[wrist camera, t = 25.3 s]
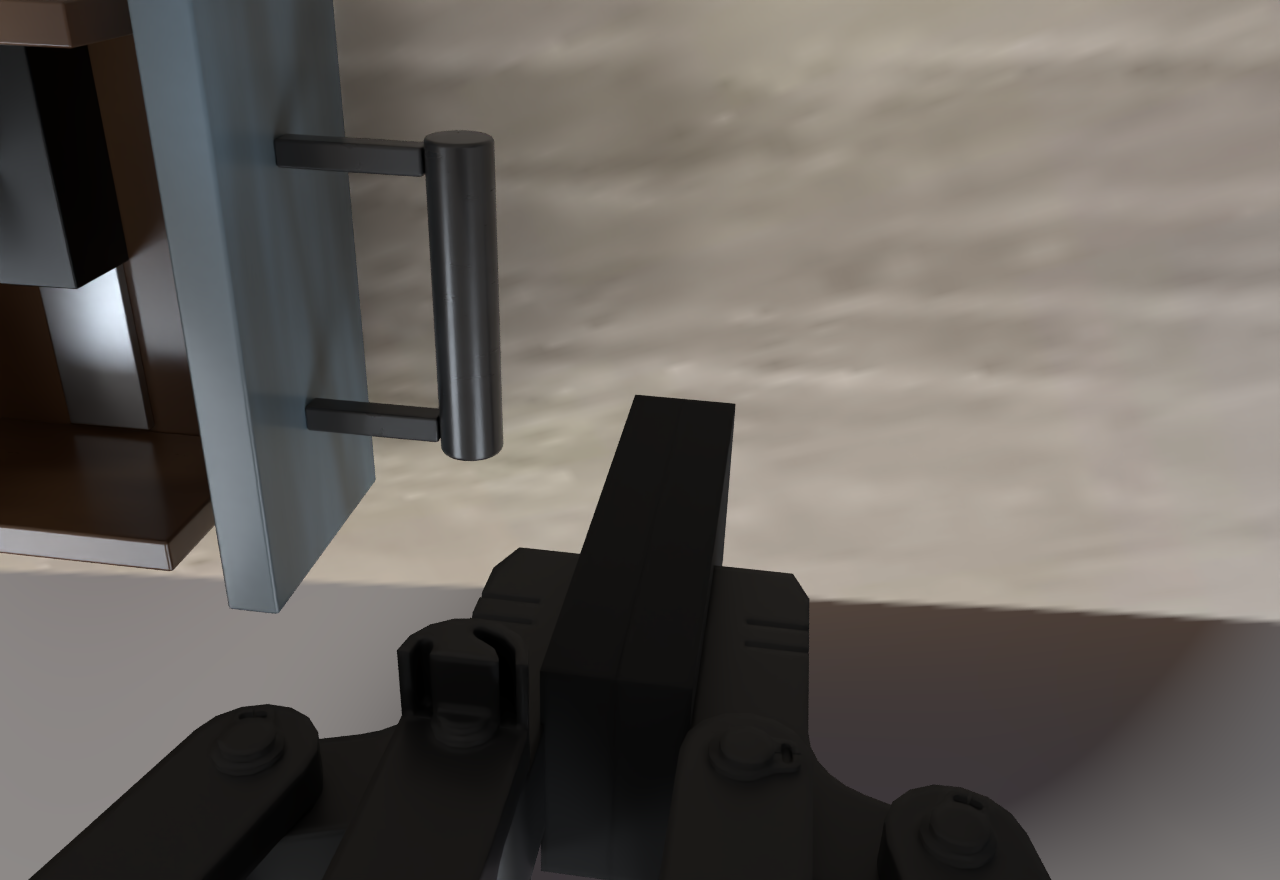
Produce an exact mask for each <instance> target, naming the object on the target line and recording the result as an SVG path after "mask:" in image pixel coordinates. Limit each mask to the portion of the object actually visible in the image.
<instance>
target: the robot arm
mask: <svg viewBox="0 0 1280 880" xmlns="http://www.w3.org/2000/svg"><path fill="white" fill-rule="evenodd" d="M734 416H735V404H732V403H721V402H710V401H699V400H688V399H677V398H666V397H655V396H644V395H635V397H634V400H633V403H632V406H631V409H630V412H629V415H628V418H627V420H626V423H625V426H624V429H623V432H622V435H621V438H620V441H619V444H618V446H617V449H616V452H615V455H614V458H613V461H612V464H611V467H610V469H609V472H608V475H607V478H606V481H605V484H604V487H603V490H602V493H601V495H600V498H599V501H598V504H597V507H596V510H595V513H594V516H593V519H592V521H591V524H590V527H589V530H588V533H587V536H586V539H585V542H584V545H583V547H582V550H581V553H580V554H576V553H567V552H558V551H548V550H539V549H530V548H520V547H519V548H518V549H517V550H515V551H514V552H513V553H512V554H510V555H509V556H508V557H507V558H505V559H504V560H503V561H501V562H500V563H499V564H498V565H496V566H495V567H494V568H493V570H492V572H491V574H490V576H489V579H488V581H487V583H486V585H485V587H484V589H483V592H482V597H480V598H479V600H478V602H477V604H476V607H475V609H474V611H473V615H472V618H470V619H451V620H447V621H443V622H439V623H435V624H430V625H429V626H427V627H425V628H423V629H421V630H419V631H417V632H416V633H414V634H412V635H410V636H409V637H408V638H407V640H406V641H405V642H404V643H403V644H402V645H401V647H400V648H399V649H398V650H397V657H398V670H399V681H400V694H401V707H402V716H401V719H400V721H399V723H398V724H397V725H394V726H392V727H389V728H386V729H383V730H380V731H375V732H370V733H365V734H359V735H350V736H341V737H334V738H324V739H319V737H318V731H317V730H316V728H315V727H314V725H313V723H312V722H311V720H310V718H308V717H307V716H305V715H304V714H302V713H300V712H298V711H296V710H294V709H293V708H290V707H283V706H277V705H270V704H265V705H256V706H246V707H240V708H237V709H235V710H232V711H229V712H226V713H224V714H220V715H218V716H215V717H214V718H213V719H211V720H209V721H208V722H207V723H205V724H203V725H202V726H200V727H199V728H198V729H196V730H195V731H193V732H192V734H190V735H189V736H188V737H187V738H186V739H185V740H183V741H182V742H181V743H180V744H179V745H178V746H177V747H176V748H175V749H173V750H172V751H171V752H170V753H169V754H168V755H167V756H166V757H165V758H163V759H162V760H161V761H160V762H159V763H158V764H157V765H156V766H155V767H153V768H152V769H151V770H150V771H149V772H148V773H147V774H146V775H144V776H143V777H142V778H141V779H140V780H139V781H138V782H137V783H136V784H134V785H133V786H132V787H131V788H130V789H129V790H128V791H127V792H126V793H124V794H123V795H122V796H121V797H120V798H119V799H118V800H117V801H116V802H114V803H113V804H112V805H111V806H110V807H109V808H108V809H107V810H105V811H104V812H103V813H102V814H101V815H100V816H99V817H98V818H97V819H95V820H94V821H93V822H92V823H91V824H90V825H89V826H88V827H87V828H85V830H83V831H82V832H81V833H80V834H79V835H78V836H77V837H75V838H74V839H73V840H72V841H71V842H70V843H69V844H68V845H67V846H65V847H64V848H63V849H62V850H61V851H60V852H59V853H58V854H57V855H55V856H54V857H53V858H52V859H51V860H50V861H49V862H48V863H47V864H45V865H44V866H43V867H42V868H41V869H40V870H39V871H38V872H36V873H35V874H34V875H33V876H32V877H31V878H30V879H29V880H531V876H532V872H533V869H534V865H535V861H536V858H537V854H538V851H539V847H540V844H541V871H546V872H553V873H560V874H568V875H576V876H582V877H590V878H597V879H604V880H1051V878H1050V877H1049V874H1048V873H1047V871H1046V869H1045V867H1044V865H1043V863H1042V862H1041V859H1040V858H1039V855H1038V854H1037V852H1036V850H1035V848H1034V846H1033V844H1032V842H1031V841H1030V838H1029V836H1028V835H1027V833H1026V832H1025V831H1024V829H1023V828H1022V827H1021V825H1020V824H1019V823H1018V822H1017V820H1016V819H1015V818H1014V816H1013V815H1012V814H1011V813H1010V812H1008V811H1007V810H1005V809H1004V808H1003V807H1001V806H1000V805H998V804H997V803H995V802H994V801H993V800H991V799H989V798H988V797H986V796H983V795H980V794H978V793H975V792H972V791H970V790H967V789H964V788H961V787H953V786H942V785H930V786H925V787H920V788H915V789H911V790H909V791H907V792H906V793H905V794H903V795H902V796H900V797H899V798H897V799H896V800H895V801H893V802H892V804H891V805H890V804H887V803H885V802H882V801H879V800H877V799H874V798H872V797H869V796H866V795H864V794H862V793H860V792H858V791H856V790H854V789H852V788H849V787H847V786H845V785H844V784H843V783H841V782H840V781H839V780H837V779H836V778H834V777H833V776H832V775H830V774H829V773H828V772H827V770H826V769H825V768H824V767H823V766H822V765H821V764H820V763H819V762H818V761H817V758H816V756H815V754H814V752H813V751H812V749H811V747H810V741H809V735H808V694H809V693H808V692H809V688H808V687H809V653H808V652H809V598H808V596H807V595H806V593H805V592H804V590H803V589H802V587H801V586H800V584H799V582H798V581H797V579H796V578H795V576H794V575H793V574H790V573H781V572H771V571H762V570H753V569H743V568H734V567H724V566H722V562H723V551H724V539H725V527H726V514H727V502H728V490H729V478H730V465H731V453H732V441H733V429H734Z"/></svg>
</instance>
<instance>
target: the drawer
mask: <svg viewBox="0 0 1280 880" xmlns="http://www.w3.org/2000/svg"><path fill="white" fill-rule="evenodd" d="M0 45H16V46H35V47H53V48H75V47H79V46H84V45H88V50H89V56H90V61H91V66H92V71H93V76H94V81H95V86H96V92H97V97H98V102H99V107H100V112H101V117H102V123H103V128H104V133H105V138H106V143H107V148H108V154H109V159H110V164H111V169H112V174H113V179H114V185H115V190H116V195H117V200H118V205H119V210H120V216H121V221H122V226H123V231H124V236H125V241H126V246H127V252H128V257H129V260H128V261H127V262H125V263H123V268H124V273H125V278H126V283H127V288H128V294H129V299H130V304H131V309H132V314H133V319H134V324H135V329H136V334H137V339H138V344H139V349H140V355H141V360H142V365H143V370H144V375H145V380H146V385H147V390H148V395H149V400H150V405H151V410H152V415H153V421H154V426H153V427H151V428H150V429H149V430H147V429H135V428H123V427H111V426H100V425H88V424H76V423H71V421H70V417H69V413H68V408H67V404H66V400H65V396H64V391H63V387H62V383H61V378H60V374H59V370H58V366H57V361H56V357H55V353H54V349H53V344H52V340H51V336H50V331H49V327H48V323H47V319H46V314H45V310H44V306H43V302H42V297H41V293H40V289H39V287H38V286H23V285H9V284H0V553H8V554H17V555H26V556H35V557H45V558H54V559H63V560H72V561H82V562H91V563H100V564H109V565H118V566H128V567H137V568H146V569H155V570H164V571H172V570H174V569H175V567H176V566H177V565H178V564H179V563H180V562H181V561H182V560H183V559H184V558H185V557H186V556H187V554H188V553H189V552H190V551H191V550H192V549H193V548H194V547H195V546H196V545H197V544H198V543H199V542H200V540H201V539H202V538H203V537H204V536H205V535H206V534H207V533H208V532H209V531H210V530H211V529H212V528H213V526H214V525H215V527H216V533H217V539H218V545H219V551H220V557H221V563H222V569H223V575H224V581H225V587H226V592H227V598H228V605H229V607H230V608H231V609H239V610H247V611H256V612H265V613H275V614H276V613H279V612H280V610H281V609H282V608H283V606H284V605H285V604H286V602H287V601H288V600H289V598H290V597H291V595H292V594H293V593H294V591H295V590H296V589H297V587H298V586H299V584H300V583H301V582H302V580H303V579H304V578H305V576H306V575H307V574H308V572H309V571H310V569H311V568H312V567H313V565H314V564H315V563H316V561H317V560H318V558H319V557H320V556H321V554H322V553H323V552H324V550H325V549H326V547H327V546H328V545H329V543H330V542H331V541H332V539H333V538H334V537H335V535H336V534H337V532H338V531H339V530H340V528H341V527H342V526H343V524H344V523H345V521H346V520H347V519H348V517H349V516H350V515H351V513H352V512H353V510H354V509H355V508H356V506H357V505H358V504H359V502H360V501H361V500H362V498H363V497H364V495H365V494H366V493H367V491H368V490H369V489H370V487H371V486H372V484H373V483H374V482H375V480H376V478H375V467H374V456H373V445H372V436H376V437H387V438H398V439H409V440H419V441H430V442H438V441H439V439H440V438H441V448H442V450H443V452H444V453H445V454H446V455H447V456H449V457H451V458H453V459H457V460H463V461H477V460H484V459H487V458H490V457H493V456H495V455H496V454H498V453H499V452H500V451H501V449H502V447H503V418H502V384H501V351H500V317H499V284H498V250H497V217H496V183H495V149H494V139H493V137H492V136H491V135H488V134H486V133H482V132H477V131H467V130H451V131H441V132H435V133H432V134H429V135H427V136H426V137H425V138H424V141H423V142H414V141H398V140H382V139H366V138H349V137H345V131H344V120H343V109H342V98H341V87H340V76H339V64H338V53H337V42H336V31H335V20H334V9H333V0H0ZM348 172H352V173H367V174H382V175H398V176H413V177H421V176H423V175H425V177H426V194H427V211H428V229H429V246H430V263H431V280H432V297H433V315H434V332H435V349H436V366H437V383H438V401H439V409H438V408H427V407H415V406H404V405H393V404H382V403H370V402H369V400H368V389H367V377H366V366H365V355H364V344H363V333H362V322H361V310H360V299H359V288H358V277H357V266H356V254H355V243H354V232H353V221H352V210H351V199H350V187H349V176H348Z"/></svg>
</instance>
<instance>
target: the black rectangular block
mask: <svg viewBox="0 0 1280 880" xmlns="http://www.w3.org/2000/svg"><path fill="white" fill-rule="evenodd" d="M128 260H129V257H128V252H127V246H126V241H125V236H124V231H123V226H122V221H121V216H120V210H119V205H118V200H117V195H116V190H115V185H114V179H113V174H112V169H111V164H110V159H109V154H108V148H107V143H106V138H105V133H104V128H103V123H102V117H101V112H100V107H99V102H98V97H97V92H96V86H95V81H94V76H93V71H92V66H91V61H90V56H89V50H88V45H84V46H79V47H75V48H53V47H35V46H16V45H0V284H9V285H23V286H38V287H39V289H40V293H41V297H42V302H43V306H44V310H45V314H46V319H47V323H48V327H49V331H50V336H51V340H52V344H53V349H54V353H55V357H56V361H57V366H58V370H59V374H60V378H61V383H62V387H63V391H64V396H65V400H66V404H67V408H68V413H69V417H70V421H71V423H76V424H88V425H100V426H111V427H123V428H135V429H147V430H149V429H150V428H151V427H153V426H154V421H153V415H152V410H151V405H150V400H149V395H148V390H147V385H146V380H145V375H144V370H143V365H142V360H141V355H140V349H139V344H138V339H137V334H136V329H135V324H134V319H133V314H132V309H131V304H130V299H129V294H128V288H127V283H126V278H125V273H124V268H123V263H125V262H127V261H128Z"/></svg>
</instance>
